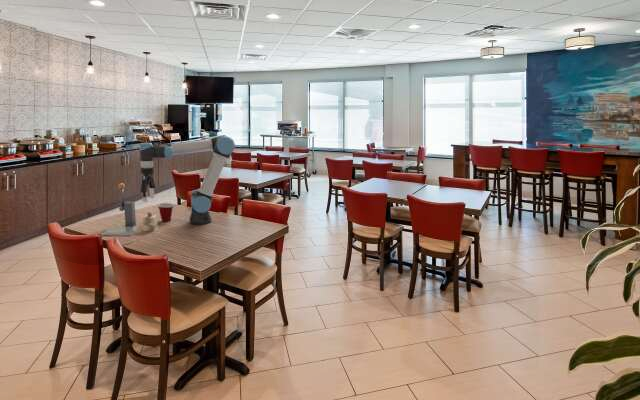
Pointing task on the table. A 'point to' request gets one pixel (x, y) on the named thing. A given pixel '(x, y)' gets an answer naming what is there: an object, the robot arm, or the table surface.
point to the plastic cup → (165, 211)
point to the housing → (150, 222)
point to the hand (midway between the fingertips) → (148, 200)
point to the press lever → (121, 196)
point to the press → (129, 222)
